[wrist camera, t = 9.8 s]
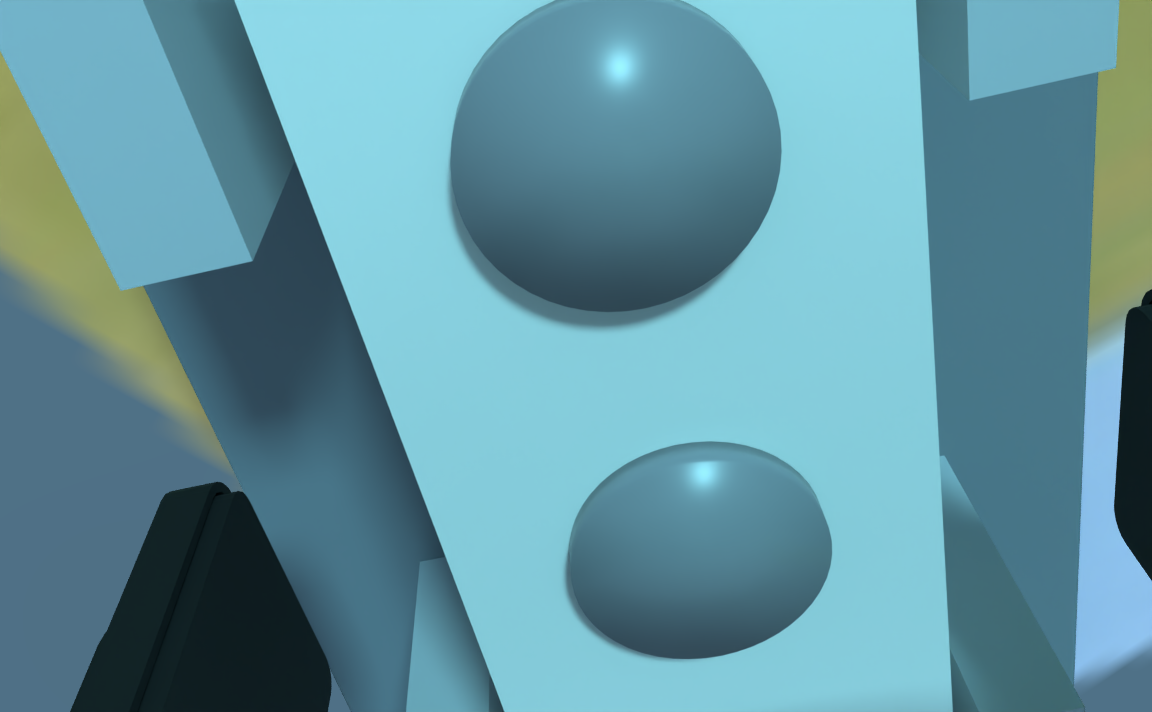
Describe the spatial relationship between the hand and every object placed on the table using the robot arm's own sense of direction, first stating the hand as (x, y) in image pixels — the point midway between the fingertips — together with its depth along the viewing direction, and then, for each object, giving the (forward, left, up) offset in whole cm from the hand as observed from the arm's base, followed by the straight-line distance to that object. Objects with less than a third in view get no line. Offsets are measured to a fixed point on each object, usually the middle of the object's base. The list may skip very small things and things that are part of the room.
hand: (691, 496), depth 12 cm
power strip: (0, 0, -3) cm, 3 cm away
